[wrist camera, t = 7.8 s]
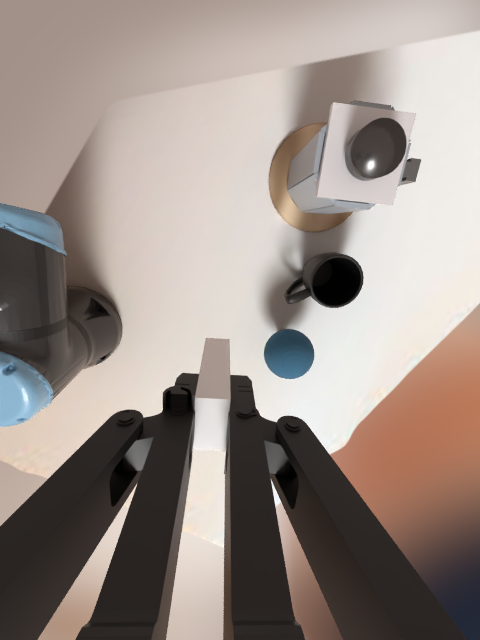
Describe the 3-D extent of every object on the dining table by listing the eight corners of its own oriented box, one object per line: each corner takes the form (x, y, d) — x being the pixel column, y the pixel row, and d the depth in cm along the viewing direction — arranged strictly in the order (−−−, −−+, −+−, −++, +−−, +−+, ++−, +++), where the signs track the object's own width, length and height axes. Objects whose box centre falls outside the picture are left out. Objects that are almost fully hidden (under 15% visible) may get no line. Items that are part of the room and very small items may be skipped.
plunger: (303, 198, 39) (334, 187, 28) (313, 135, 37) (351, 95, 25) (356, 204, 40) (407, 195, 28) (369, 143, 37) (430, 106, 26)
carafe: (282, 210, 47) (309, 202, 31) (292, 140, 44) (327, 92, 28) (358, 218, 48) (422, 215, 32) (373, 151, 45) (452, 110, 29)
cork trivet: (263, 226, 48) (263, 226, 48) (276, 118, 43) (276, 116, 43) (352, 236, 49) (354, 236, 49) (375, 131, 44) (377, 129, 44)
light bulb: (252, 347, 55) (258, 379, 44) (270, 310, 53) (281, 332, 42) (290, 361, 57) (306, 395, 45) (309, 325, 54) (330, 351, 43)
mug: (270, 267, 51) (278, 276, 42) (333, 242, 50) (356, 245, 41) (284, 307, 53) (295, 324, 44) (344, 284, 52) (369, 297, 43)
